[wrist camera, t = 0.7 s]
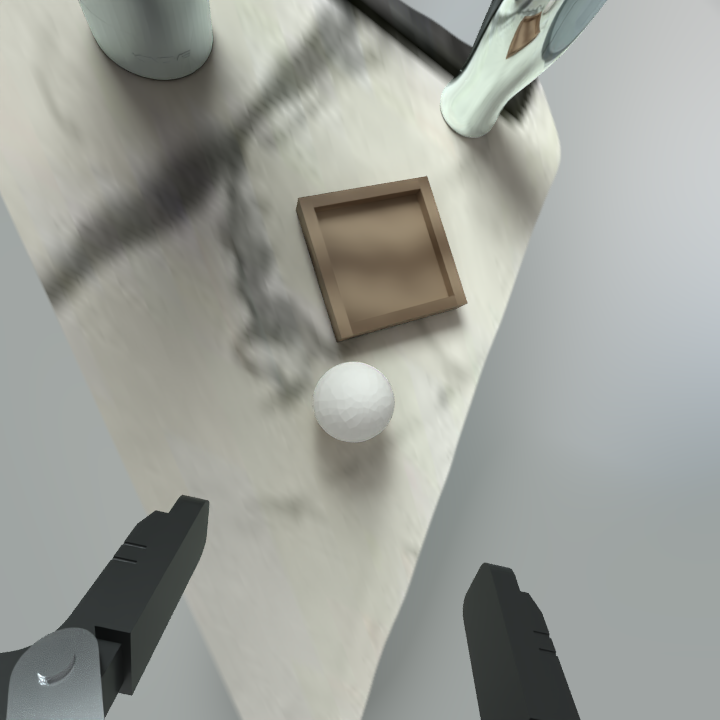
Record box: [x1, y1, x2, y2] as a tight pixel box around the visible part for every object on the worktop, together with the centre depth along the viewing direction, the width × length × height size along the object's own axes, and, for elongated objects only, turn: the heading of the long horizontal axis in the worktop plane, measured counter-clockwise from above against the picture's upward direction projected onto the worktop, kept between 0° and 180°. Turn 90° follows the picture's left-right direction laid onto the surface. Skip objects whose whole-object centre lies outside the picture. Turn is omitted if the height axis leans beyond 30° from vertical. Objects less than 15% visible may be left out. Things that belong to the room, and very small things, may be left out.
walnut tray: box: [296, 176, 467, 342], centre depth 35 cm, size 12×12×2 cm
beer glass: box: [440, 0, 607, 138], centre depth 33 cm, size 7×7×15 cm
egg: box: [313, 362, 394, 442], centre depth 30 cm, size 6×6×8 cm
